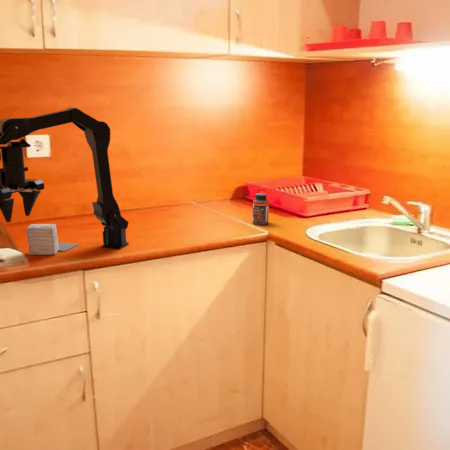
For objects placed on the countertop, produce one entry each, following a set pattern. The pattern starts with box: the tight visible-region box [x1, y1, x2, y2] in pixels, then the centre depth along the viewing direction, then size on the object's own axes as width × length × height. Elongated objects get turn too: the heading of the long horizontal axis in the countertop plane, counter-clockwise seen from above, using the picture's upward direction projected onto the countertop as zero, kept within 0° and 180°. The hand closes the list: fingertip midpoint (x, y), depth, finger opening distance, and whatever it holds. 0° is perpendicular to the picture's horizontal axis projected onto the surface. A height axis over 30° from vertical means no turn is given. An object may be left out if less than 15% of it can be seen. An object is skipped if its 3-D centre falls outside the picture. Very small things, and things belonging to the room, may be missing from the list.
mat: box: [57, 241, 80, 253], centre depth 172 cm, size 9×8×1 cm
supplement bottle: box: [252, 192, 270, 226], centre depth 202 cm, size 6×6×11 cm
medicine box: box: [25, 223, 59, 256], centre depth 164 cm, size 8×4×9 cm, turn 92°
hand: (18, 218), depth 154 cm, fingers open, 8 cm apart
